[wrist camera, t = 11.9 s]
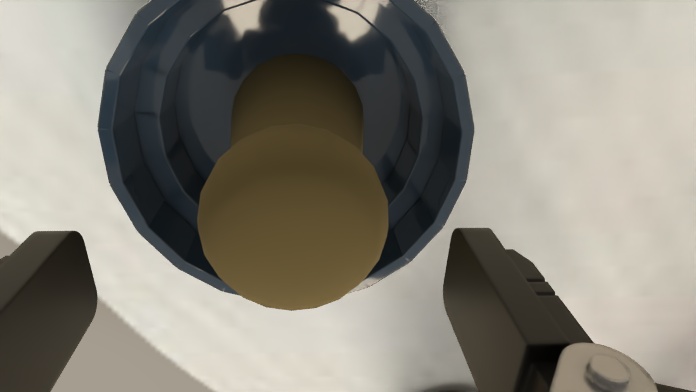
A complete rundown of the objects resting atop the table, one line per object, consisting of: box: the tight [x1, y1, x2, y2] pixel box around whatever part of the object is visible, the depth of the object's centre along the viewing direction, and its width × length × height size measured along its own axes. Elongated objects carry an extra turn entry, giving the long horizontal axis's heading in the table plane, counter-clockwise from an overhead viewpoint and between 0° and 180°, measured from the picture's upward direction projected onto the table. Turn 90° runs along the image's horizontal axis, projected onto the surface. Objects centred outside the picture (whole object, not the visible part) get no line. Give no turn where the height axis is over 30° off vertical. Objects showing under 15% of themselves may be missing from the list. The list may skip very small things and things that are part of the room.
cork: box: [197, 54, 388, 311], centre depth 16 cm, size 6×6×11 cm
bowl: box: [98, 0, 474, 296], centre depth 19 cm, size 13×13×6 cm
